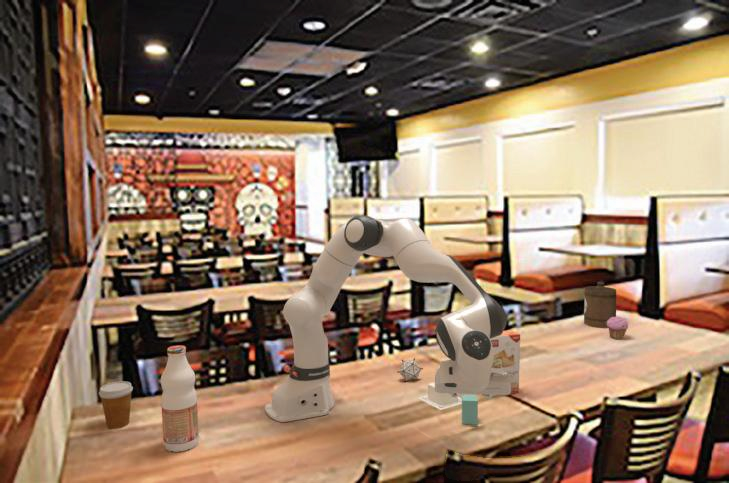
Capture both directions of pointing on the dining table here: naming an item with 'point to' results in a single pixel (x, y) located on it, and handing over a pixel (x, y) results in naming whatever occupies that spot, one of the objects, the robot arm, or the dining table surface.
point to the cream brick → (440, 396)
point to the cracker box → (507, 356)
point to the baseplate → (440, 407)
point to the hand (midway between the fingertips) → (471, 395)
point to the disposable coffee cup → (116, 403)
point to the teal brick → (470, 410)
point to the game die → (410, 370)
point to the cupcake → (617, 327)
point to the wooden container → (599, 305)
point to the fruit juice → (179, 402)
